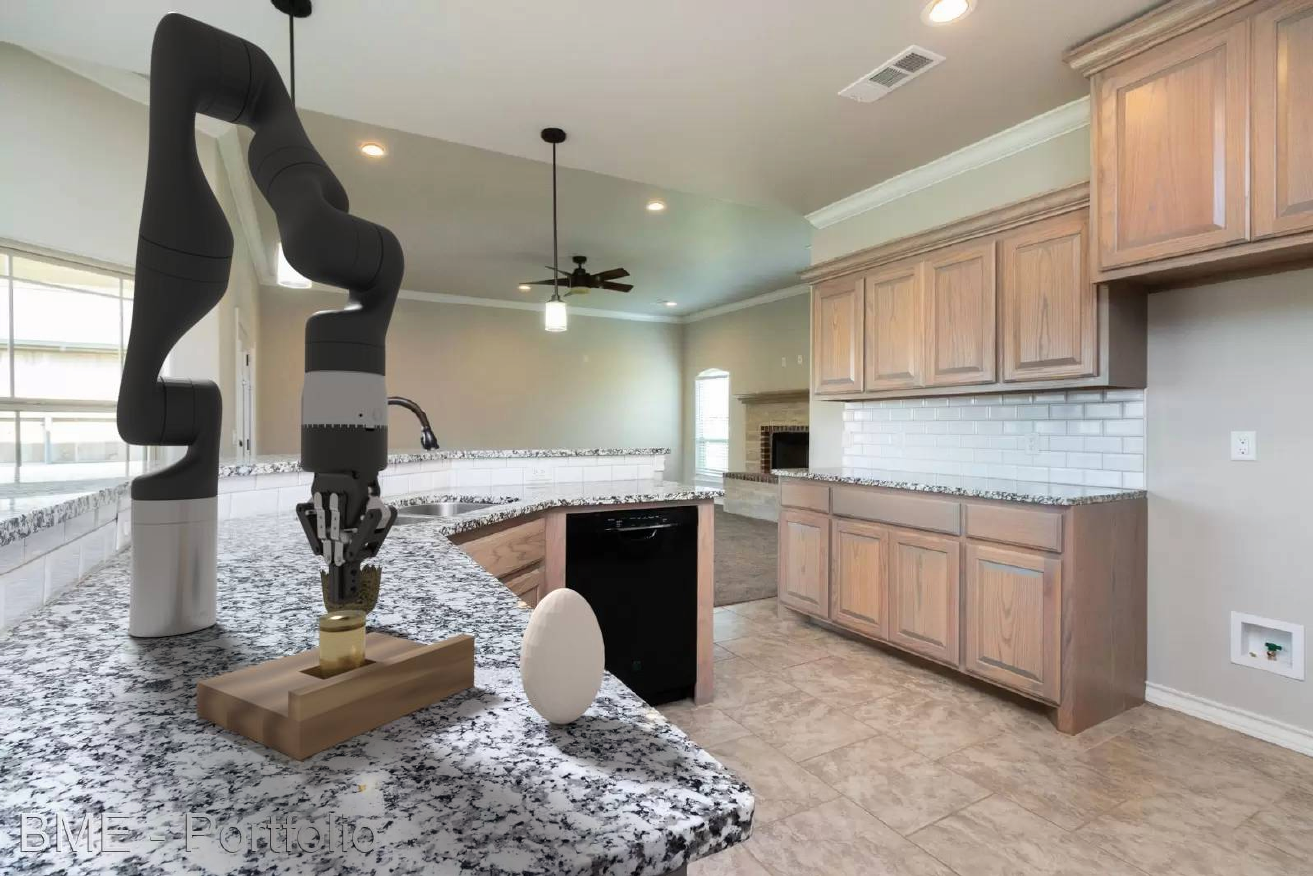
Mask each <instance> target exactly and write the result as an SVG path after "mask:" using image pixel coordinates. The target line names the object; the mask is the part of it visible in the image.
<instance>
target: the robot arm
mask: <svg viewBox="0 0 1313 876" xmlns="http://www.w3.org/2000/svg"><path fill="white" fill-rule="evenodd" d="M150 51H151V52H150V53H151V54H150V66H149V67H150V68H149V69H150V71H149V113H148V114H149V117H148V118H149V120H148V121H149V123H148V125H149V127H148V151H147V152H148V156H147V167H146V168H147V169H146V177H145V184H144V185H145V186H144V191H143V192H144V194H143V200H142V209H141V215H140V221H139V228H138V234H137V235H138V237H137V248H136V254H135V255H136V256H135V269H134V287H133V298H132V299H133V300H132V315H131V324H130V325H131V326H130V330H129V337H128V343H127V347H126V354H125V359H124V363H123V370H122V375H121V379H120V380H121V381H120V385H119V392H118V397H117V401H116V402H117V404H116V416H115V417H116V429H117V432H118V435H119V437H120V438H121V440H122V442H125V443H126V444H128V445H132V446H141V447H143V446H144V447H187V450H186V454H185V455H184V456H183V457H181V459H179V460H178V461H176V462H174V463H172V464H170V465H167V466H166V467H163V468H160V469H156V470H154V471H151V472H147V473H144V474H141V475H140V474H139V475H138V476H136V477H134V478H133V479H132V482H131V486H130V563H129V564H130V566H129V567H130V570H129V574H130V575H129V581H130V582H129V622H128V623H129V627H128V628H129V629H128V630H129V631H128V632H129V635H130V636H133V637H139V638H141V637H142V638H157V637H158V638H159V637H167V636H168V637H169V636H170V637H171V636H176V635H182V634H183V635H184V634H188V633H192V632H196V631H200V630H203V629H208V628H210V627H211V626H213V625H215V624H216V623H217V608H218V607H217V606H218V605H217V603H218V600H217V599H218V598H217V597H218V540H219V539H218V534H219V533H218V528H219V525H218V524H219V521H218V520H219V518H218V515H219V498H218V497H219V496H218V495H219V475H220V452H221V451H220V448H221V438H222V426H223V411H224V410H223V406H224V405H223V397H222V391H221V389H220V388H219V386H218V384H217V383H216V382H215V381H214V380H212V379H208V378H200V377H184V376H182V377H181V376H169V375H168V376H167V375H160V373H161V370H162V368H163V365H164V363H165V361H166V359H167V357H168V356H169V354H170V352H171V351H172V349H173V348H174V347H175V346H176V344H177V343H178V342H179V341H180V339H181V338H182V337H184V335H186V334H187V332H189V331H190V330H191V329H192V328H193V327H195V326H196V324H198V323H199V322H200V321H201V320H202V319H203V318H204V317H205V316H207V315H208V314H209V313H210V312H212V310H213V309H214V308H215V307H216V306H217V305H218V304H219V303H220V301H222V298H223V297H224V296H225V294H227V293H226V292H227V291H228V287H229V281H230V276H231V269H232V264H233V255H234V251H235V250H234V248H235V239H234V234H233V231H232V228H231V225H230V222H229V221H228V219H227V216H226V214H225V212H224V210H223V208H222V206H221V204H220V202H219V200H218V199H217V197H216V195H215V193H214V191H213V190H212V187H211V186H210V184H209V182H208V180H207V179H208V178H207V177H206V175H205V172H204V170H203V168H202V164H201V162H200V159H199V155H198V150H197V141H196V116H197V114H200V115H203V116H207V117H210V118H214V119H216V120H220V121H222V122H223V121H224V122H226V123H229V124H233V125H238V126H239V125H240V126H245V127H247V128H248V129H250V130H251V131H253V132H254V135H253V137H252V138H251V140H250V143H249V144H248V145H249V146H248V150H247V164H248V165H247V166H248V169H249V172H250V175H251V177H252V179H253V181H254V183H255V185H256V186H257V188H258V190H259V192H260V193H261V194H262V196H263V197H264V199H265V201H266V202H267V203H268V205H269V207H270V208H271V209H272V211H273V212H274V214H275V220H276V223H277V229H278V233H279V238H280V245H281V250H282V254H283V257H284V258H285V261H286V262H287V263H288V265H290V267H291V268H292V269H293V270H294V271H296V273H298V274H299V275H300V276H301V277H303V278H305V279H307V280H309V281H312V282H313V283H314V282H315V283H318V284H323V285H325V286H326V285H327V286H331V287H334V288H340V289H343V290H347V291H348V298H347V301H346V303H345V306H344V307H343V309H329V310H320V311H317V312H314V313H312V314H311V315H310V316H309V317H308V318H307V320H306V322H305V323H306V324H305V329H304V378H303V386H302V390H301V391H302V392H301V400H300V402H301V403H300V406H301V407H300V409H301V411H300V412H301V413H300V468H301V470H302V471H304V472H305V473H313V474H314V475H313V479H312V483H311V486H310V493H311V497H310V498H309V499H308V501H307V502H298V503H297V504H296V505H295V512H296V516H297V517H298V520H299V522H300V524H301V527H302V529H303V532H304V534H305V537H306V539H307V541H308V543H309V547H310V548H311V550H312V552H313V553H312V554H313V555H314V556H316V557H319V556H321V557H323V562H324V563H325V564H326V565H328V573H329V588H328V591H329V602H330V603H332V604H337V605H346V604H350V603H355V602H357V601H358V599H359V594H360V569H361V565H362V563H364V561H365V560H367V559H372V558H376V557H377V555H378V553H379V551H380V549H381V548H382V546H383V544H384V542H385V540H386V538H387V536H388V535H389V532H390V531H391V529H392V527H393V525H394V524H395V522H396V519H397V518H398V509H397V507H395V506H389V507H388V506H386V505H385V504H384V502H383V501H382V500H381V492H382V491H381V486H380V483H379V478H378V474H379V473H380V472H382V471H385V470H386V469H387V467H388V461H389V460H388V457H389V454H388V452H389V451H388V449H389V446H388V445H389V443H388V442H389V441H388V439H389V437H388V436H389V397H388V389H387V383H386V377H385V376H386V365H387V364H386V361H387V360H386V357H387V356H386V337H387V333H388V329H389V326H390V323H391V320H392V316H393V313H394V309H395V305H396V301H397V300H398V295H399V292H400V288H401V286H402V282H403V278H404V273H405V266H406V265H405V255H404V250H403V248H402V245H401V243H400V241H399V239H398V238H397V236H396V234H395V233H393V232H392V231H391V230H390V229H389V228H387V227H385V226H384V225H381V224H378V223H375V222H372V221H369V220H367V219H364V218H361V217H360V216H356V215H353V214H350V200H349V197H348V194H347V192H346V189H345V188H344V186H343V184H342V183H341V181H340V180H339V178H338V177H337V176H336V175H335V172H333V170H332V169H331V168H330V167H329V166H330V165H328V163H327V162H326V161H325V159H324V158H323V157H322V156H321V154H320V153H319V151H317V149H316V148H315V146H314V145H313V143H312V141H311V140H310V139H309V136H308V135H307V132H306V130H305V128H304V126H303V123H302V121H301V119H300V117H299V115H298V111H297V109H296V107H295V104H294V102H293V100H292V98H291V96H290V94H289V91H288V89H287V87H286V85H285V82H284V80H283V77H282V75H281V74H280V71H279V70H278V68H277V66H276V65H275V63H274V62H273V60H272V59H271V57H270V56H269V55H268V54H267V52H266V51H265V50H264V49H262V48H261V47H260V46H259V45H257V44H255V43H253V42H252V41H250V40H248V39H246V38H243V37H240V36H238V35H235V34H233V33H231V32H229V31H226V30H223V29H221V28H219V27H217V26H213V25H212V24H209V23H206V22H204V21H202V20H199V19H197V18H194V17H191V16H190V15H186V14H184V13H180V12H176V11H173V12H172V11H170V12H167V13H165V14H164V15H163V16H161V18H160V19H159V22H158V24H157V25H156V27H155V30H154V34H153V41H152V45H151V50H150Z"/></svg>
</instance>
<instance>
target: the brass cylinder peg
mask: <svg viewBox="0 0 1313 876" xmlns="http://www.w3.org/2000/svg"><path fill="white" fill-rule="evenodd" d="M366 620H367V615H366V612H364V611H358V610H346V611H337V612H331V613H328V612H327V613H325V614H322V615H320V616H319V617H318V632H319V633H318V648H319V678H320V679H323V680H325V679H328V678H331V677H334V676H337V675H340V674H343V673H346V672H349V671H352V670H355V669H358V668H361V667H364V666H365V634H366V624H367V622H366Z"/></svg>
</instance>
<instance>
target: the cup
mask: <svg viewBox="0 0 1313 876" xmlns="http://www.w3.org/2000/svg"><path fill="white" fill-rule="evenodd" d="M382 572H383V565H382V566H381V565H380V564H379V565H378V566H377V567H375V564H373V563H372V564H371V566H370V565H369V563H366V564H364V565H363V567H362V569H361V568H360V594H359V599H358V601H357V602H355V603H350V604H346V605H337V604H332V603H330V602H329V591H328V588H329V572H327V573H326V571H325V570H324V569H321V570H319V575H320V581H321V590H322V598H323V604H324V607H325V610H326V612H327V613H331V612H337V611H346V610H358V611H364V612H366V616H367V615H369V614H370V613H372V612H373V610H374V609H375V607H376V606H377V603H378V600H379V595H380V588H381V582H382V581H381V578H382ZM366 623H367V619H366Z"/></svg>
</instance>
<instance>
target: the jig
mask: <svg viewBox="0 0 1313 876" xmlns="http://www.w3.org/2000/svg"><path fill="white" fill-rule="evenodd" d="M475 639H476V638H475V635H470V634H467V633H462V634H459V635H456V636H452V637H449V638H446V639H444V640H440V641H438V642H435V643H431V644H426V643H422V642H418V641H413V640H409V639H406V638H401V637H396V636H393V635H387V634H385V633H384V634H383V633H380V632H376V631H373V632H369V633H365V666H364V667H361V668H358V669H355V670H352V671H349V672H346V673H343V674H340V675H337V676H334V677H331V678H328V679H325V680H323V679H320V678H319V647H316V648H313V649H308V650H306V651H302V652H298V653H295V654H291V655H288V656H284V657H280V658H278V659H274V660H269V661H267V662H263V663H259V664H256V665H255V664H254V665H252V666H247V667H245V668H242V669H238V670H234V671H231V672H228V673H223V674H219V675H217V676H213V677H209V678H206V679H203V680H198V681H197V682H196V716H197V717H199V718H202V719H204V720H206V721H208V722H211V723H213V724H216V725H218V726H220V727H222V728H224V729H227V730H228V731H231V732H234V733H236V734H239V735H240V736H243V737H245V738H247V739H249V740H252V741H254V742H257V743H258V744H261V745H262V746H265V747H267V748H270V749H272V750H275V751H277V752H280V753H281V754H284V755H286V756H288V757H290V758H292V759H295V760H298V761H302V760H304V759H306V758H308V757H311V756H313V755H315V754H318V753H320V752H322V751H325V750H327V749H330V748H332V747H334V746H336V745H338V744H339V745H340V744H341V743H344V742H346V741H348V740H351V739H353V738H355V737H357V736H360V735H362V734H364V733H367V732H369V731H372V730H373V729H376V728H378V727H380V726H381V727H382V725H385V724H386V725H387V724H388V723H390V722H393V721H395V720H397V719H399V718H402V717H404V716H406V715H409V714H412V713H414V712H415V711H418V710H420V709H423V708H425V707H428V706H429V705H433V704H434V703H438V702H439V701H442V700H443V699H446V698H449V697H451V696H453V695H455V694H458V693H461V692H462V691H465V690H467V689H469V688H472V687H474V686H475Z"/></svg>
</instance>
